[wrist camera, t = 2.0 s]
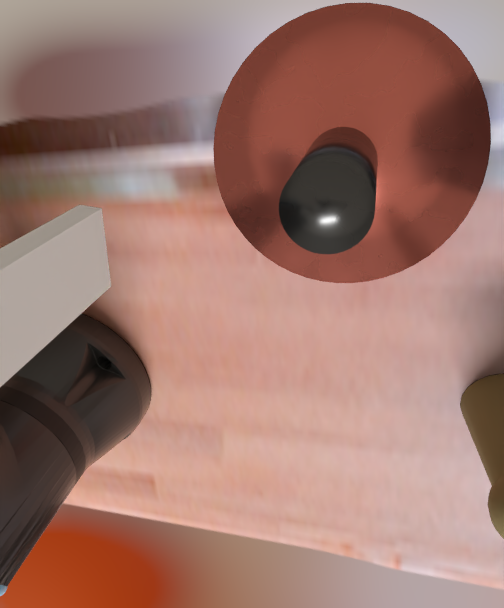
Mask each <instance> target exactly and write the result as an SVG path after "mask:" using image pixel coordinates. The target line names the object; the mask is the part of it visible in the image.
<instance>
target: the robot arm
mask: <svg viewBox="0 0 504 608" xmlns="http://www.w3.org/2000/svg"><path fill="white" fill-rule="evenodd" d="M110 287H111V279H110V271H109V263H108V255H107V247H106V239H105V231H104V223H103V215H102V208H97V207H91V206H85V205H78V206H76V207H74V208H72V209H71V210H69V211H67V212H65V213H63V214H62V215H60V216H58V217H56V218H54V219H53V220H51V221H49V222H47V223H45V224H44V225H42V226H40V227H38V228H36V229H35V230H33V231H31V232H29V233H27V234H26V235H24V236H22V237H20V238H18V239H17V240H15V241H13V242H11V243H9V244H8V245H6V246H4V247H2V248H0V596H1V595H3V594H4V593H5V592H6V589H7V586H8V584H9V583H10V581H11V580H12V578H13V577H14V575H15V574H16V572H17V571H18V569H19V568H20V566H21V565H22V563H23V562H24V560H25V559H26V557H27V556H28V554H29V553H30V551H31V550H32V548H33V547H34V545H35V544H36V542H37V541H38V539H39V538H40V536H41V535H42V533H43V532H44V531H45V529H46V528H47V526H48V524H49V523H50V522H51V520H52V519H53V517H54V516H55V514H56V513H57V511H58V509H59V508H60V507H61V505H62V504H63V502H64V501H65V499H66V498H67V496H68V495H69V493H70V492H71V490H72V489H73V487H74V486H75V484H76V483H77V481H78V480H79V478H80V477H81V476H82V474H83V473H84V471H85V470H86V469H87V468H88V467H89V466H90V465H92V464H93V463H94V462H95V461H97V460H98V459H99V458H101V457H102V456H103V455H105V454H106V453H107V452H108V451H110V450H111V449H112V448H113V447H115V446H116V445H117V444H118V443H119V442H121V441H122V440H124V439H125V438H127V437H128V436H129V435H130V434H131V433H132V432H133V431H134V430H135V429H136V427H137V426H138V425H139V423H140V421H141V420H142V418H143V417H144V415H145V414H146V412H147V410H148V408H149V404H150V400H151V388H150V383H149V379H148V376H147V373H146V371H145V369H144V367H143V365H142V363H141V361H140V360H139V358H138V357H137V355H136V354H135V353H134V351H133V350H132V349H131V348H130V347H129V346H128V344H127V343H126V342H125V341H124V340H123V339H122V338H120V337H119V336H118V335H117V334H116V333H114V332H113V331H112V330H111V329H109V328H108V327H106V326H105V325H103V324H101V323H100V322H98V321H96V320H94V319H92V318H90V317H88V316H86V315H83V314H81V313H82V312H84V311H85V310H86V309H87V308H88V307H89V306H90V305H91V304H92V303H93V302H95V301H96V300H97V299H98V298H99V297H100V296H101V295H102V294H103V293H104V292H106V291H107V290H108V289H109V288H110Z"/></svg>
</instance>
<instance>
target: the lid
mask: <svg viewBox="0 0 504 608" xmlns="http://www.w3.org/2000/svg"><path fill="white" fill-rule="evenodd" d="M490 145H491V133H490V118H489V112H488V105H487V101H486V98H485V95H484V92H483V89H482V86H481V83H480V81H479V79H478V77H477V75H476V73H475V71H474V69H473V67H472V65H471V64H470V62H469V61H468V60H467V58H466V57H465V55H464V54H463V53H462V51H461V50H460V48H459V47H458V46H457V45H456V44H455V43H454V42H453V41H452V40H451V39H450V38H449V37H448V36H447V35H446V34H445V33H443V32H442V31H441V30H439V29H438V28H436V27H435V26H434V25H432V24H431V23H429V22H428V21H426V20H424V19H422V18H420V17H418V16H416V15H414V14H412V13H410V12H407V11H404V10H401V9H397V8H394V7H391V6H387V5H379V4H373V3H345V4H339V5H333V6H327V7H324V8H321V9H318V10H315V11H311V12H308V13H306V14H304V15H302V16H300V17H298V18H296V19H294V20H291V21H289V22H288V23H286V24H285V25H283V26H282V27H280V28H279V29H277V30H276V31H274V32H273V33H271V34H270V35H269V36H268V37H267V38H266V39H265V40H264V41H263V42H261V43H260V44H259V45H258V46H257V47H256V48H255V49H254V50H253V51H252V53H251V54H250V55H249V56H248V57H247V58H246V60H245V61H244V62H243V63H242V65H241V67H240V68H239V70H238V71H237V73H236V74H235V76H234V77H233V79H232V81H231V83H230V85H229V87H228V89H227V91H226V93H225V95H224V98H223V101H222V104H221V107H220V110H219V113H218V118H217V123H216V128H215V137H214V165H215V171H216V177H217V183H218V186H219V189H220V193H221V196H222V199H223V201H224V203H225V206H226V208H227V210H228V212H229V214H230V216H231V218H232V219H233V221H234V223H235V225H236V226H237V227H238V229H239V230H240V231H241V233H242V234H243V235H244V237H245V238H246V239H247V240H248V241H249V242H250V243H251V244H252V245H253V246H254V247H255V248H256V249H257V250H258V251H259V252H261V253H262V254H263V255H264V256H265V257H267V258H268V259H270V260H271V261H273V262H274V263H276V264H277V265H279V266H281V267H283V268H285V269H287V270H289V271H291V272H293V273H296V274H298V275H301V276H304V277H307V278H311V279H315V280H319V281H326V282H334V283H355V282H364V281H371V280H375V279H379V278H384V277H387V276H389V275H392V274H395V273H398V272H400V271H402V270H404V269H406V268H409V267H411V266H413V265H415V264H416V263H418V262H419V261H421V260H422V259H424V258H426V257H427V256H429V255H430V254H431V253H432V252H434V251H435V250H436V249H437V248H439V247H440V246H441V245H442V244H443V243H444V242H445V241H446V240H447V239H448V238H449V237H450V236H451V235H452V234H453V233H454V232H455V231H456V229H457V228H458V227H459V225H460V224H461V223H462V221H463V220H464V219H465V217H466V216H467V214H468V212H469V211H470V209H471V207H472V205H473V204H474V202H475V200H476V198H477V196H478V193H479V191H480V188H481V186H482V184H483V180H484V177H485V173H486V169H487V166H488V160H489V153H490Z"/></svg>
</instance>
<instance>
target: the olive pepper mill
mask: <svg viewBox="0 0 504 608" xmlns="http://www.w3.org/2000/svg"><path fill="white" fill-rule="evenodd" d="M460 407H461V410H462V414H463V417H464V419H465V421H466V424H467V426H468V429H469V431H470V434H471V436H472V438H473V441H474V443H475V446H476V448H477V451H478V453H479V456H480V458H481V460H482V463H483V465H484V468H485V470H486V473H487V475H488V477H489V480H490V482H491V485H492V487H491V490H490V493H489V498H488V508H489V513H490V517H491V521H492V523H493V525H494V527H495V529H496V530H497V531H498V533H499V534H500V535H501V536H502V537H503V538H504V374H497V375H490V376H487V377H485V378H482V379H479V380H477V381H476V382H474V383H473V384H472V385H470V386H469V387H468V388H467V389H466V391H465V392H464V394H463V395H462V398H461V403H460Z"/></svg>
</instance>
